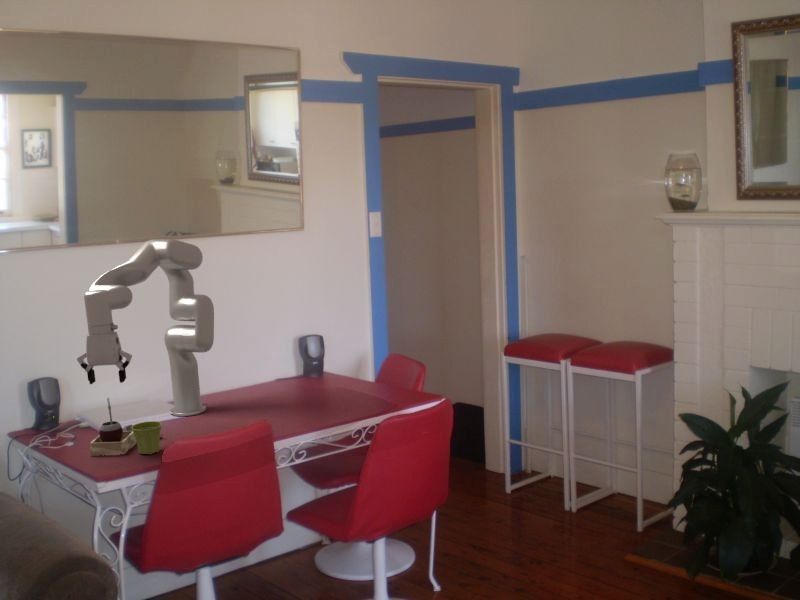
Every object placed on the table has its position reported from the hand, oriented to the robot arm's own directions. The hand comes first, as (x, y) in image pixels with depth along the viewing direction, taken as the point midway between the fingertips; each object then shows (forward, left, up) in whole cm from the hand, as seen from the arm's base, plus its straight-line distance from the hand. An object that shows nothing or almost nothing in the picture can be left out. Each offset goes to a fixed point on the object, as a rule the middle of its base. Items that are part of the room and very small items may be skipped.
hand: (107, 382), depth 297 cm
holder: (0, 0, -22) cm, 22 cm away
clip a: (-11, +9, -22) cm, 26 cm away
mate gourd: (0, -1, -22) cm, 22 cm away
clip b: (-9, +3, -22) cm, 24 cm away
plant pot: (+4, +13, -22) cm, 26 cm away
